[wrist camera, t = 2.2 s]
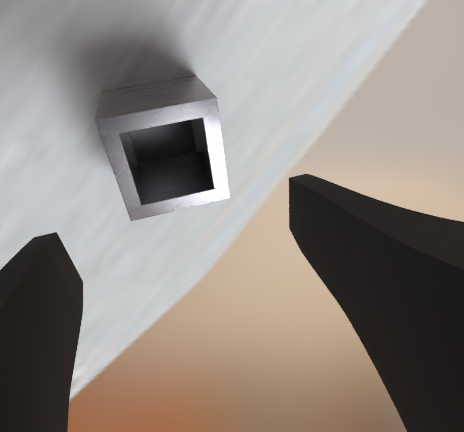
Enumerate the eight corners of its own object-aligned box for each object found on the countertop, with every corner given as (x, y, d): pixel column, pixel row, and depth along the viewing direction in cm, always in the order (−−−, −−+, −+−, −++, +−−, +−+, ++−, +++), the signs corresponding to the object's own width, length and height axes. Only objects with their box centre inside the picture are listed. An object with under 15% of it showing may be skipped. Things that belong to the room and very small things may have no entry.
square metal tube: (129, 176, 20) (130, 221, 16) (102, 91, 17) (95, 119, 13) (209, 159, 21) (229, 197, 17) (196, 75, 18) (216, 97, 14)
